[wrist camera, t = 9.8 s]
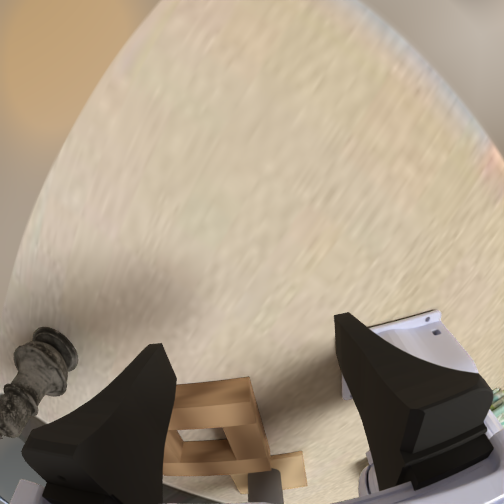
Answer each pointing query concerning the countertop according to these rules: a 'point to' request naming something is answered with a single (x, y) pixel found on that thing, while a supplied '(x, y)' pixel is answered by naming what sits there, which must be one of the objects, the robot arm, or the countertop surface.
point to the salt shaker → (36, 378)
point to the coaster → (288, 467)
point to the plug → (265, 487)
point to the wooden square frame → (212, 416)
